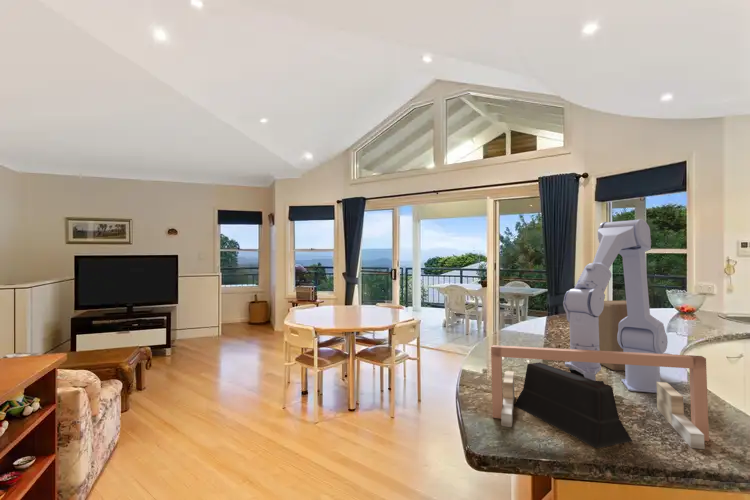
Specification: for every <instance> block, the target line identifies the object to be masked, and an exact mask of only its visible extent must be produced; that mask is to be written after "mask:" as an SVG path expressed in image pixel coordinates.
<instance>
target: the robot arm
mask: <svg viewBox="0 0 750 500" xmlns="http://www.w3.org/2000/svg"><path fill="white" fill-rule="evenodd" d="M651 237H652V236H651V227H650V226H649V224H648V223H647V221H645V219H643V218H638V219H629V220H618V221H602V222H601V223H600V225H599V227H598V229H597V240H598V242H599V244H598V247H597V248H596V249H597V250H596V253H595V255H594V259H593V261H592V262H590V263H588V264H586V265H585V266H584V268H583V270H582V272H581V274H580V276H579V278H578V280H577V281H576V284H575V285H574V288H570V289H569V290H567V291H566V292H565V294H564V295H563V296H564V297H563V302H562V305H563V310H564V311H565V313H566V321H567V322H568V323H569V349H577V350H596V351H600V349H599V315H600V314H601V313H602V311H603V308H604V301H605V298H606V294H605V291H606V289H607V287H608V285H609V282H610V280H611V278H612V272H611V269H610V268H611V266H612V264H613V263H614V262H615V260H616V259H617V257H618V256H619V255H620V257H622V267H623V268H622V269H623V279H624V288H625V301H626V303H627V315H628V316H627V317H625V318H624V319H622V320H621V321H620V322H619V324H618V335H617V340H618V344H619V345H620V347H621V348H622V349H623V352H635V353H654V354H665V353H666V350H667V349H668V335H667V332H666V331H665V325H664V323H663V322H662V321H660V320H659V319H657V318H656V317H654V316H653V315H651V313H650V312H651V311H650V298H649V288H648V287H649V286H648V276H647V275H648V274H647V264H646V262H647V261H646V252H648V251H651V250H652V247H651V246H652V239H651ZM564 366H565V367H566V368H568V369H569V372H570V373H573V374H576V375H579V376H582V377H585V378H588V379H591V380H594V381H597V382H600V383H603V384H605V382H604V381H603V380H596V375H597V374H598V373H599V372H600V371H601V370H602V365H601V364H600V363H593V362H577V361H565V362H564ZM660 368H661V367H659V366H642V365H626V364H625V372H624V373H625V378H621V382H622V383H623V384H624V386H625V387H626V389H627V390H628V391H629V392H638V393H639V392H641V393H653V394H654V393H655V394H657V383H656V382H661V372H660V371H661V369H660Z"/></svg>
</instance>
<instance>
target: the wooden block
mask: <svg viewBox="0 0 750 500" xmlns="http://www.w3.org/2000/svg"><path fill="white" fill-rule="evenodd" d="M627 316H628V315H627V303H626V299H625V300H604V308H603V311H602V313H601V314H600V315H599V349H600V351H615V352H623V349H622V348H621V347H620V345H619V344H618V340H617V335H618V324H619V322H620V321H621V320H622V319H624V318H625V317H627ZM600 365H601V366H604V367H606V368H608V369H610V370H612V371H615V372H616V371H617V372H618V371H620V372H621V371H625V364H610V363H600Z"/></svg>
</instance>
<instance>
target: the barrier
mask: <svg viewBox="0 0 750 500" xmlns="http://www.w3.org/2000/svg"><path fill="white" fill-rule="evenodd" d="M597 381H598V380H596V381H594V380H591V379H588V378H585V377H582V376H579V375H576V374H573V373H571V372H570V371H566V370H564V369H560V368H557V367H554V366H552V365H549V364H546V363H542V362H533V363H532V362H531V363H528V364H527V363H526V372H525V377H524V383H523V388H522V389H521V392H520V394H519V395H518V396H517V399H516V401H514V407H516V408H518V409H520V410H521V411H524V412H525V413H527V414H529V415H532V416H533V417H535V418H537V419H538V420H541V421H543V422H545V423H547V424H549V425H550V426H553V427H554V428H556V429H558V430H560V431H562V432H564V433H565V434H567V435H570V436H571V437H573V438H575V439H577V440H579V441H581V442H583V443H584V444H587V445H589V446H591V447H593V448H595V449H600V448H606V447H610V446H614V445H615V446H616V445H620V444H626V443H631V442H633V439H632V438H631V436H630V435H629V433H628V431H627V429H626V428H625V427H624V424H623V423H622V421H621V420H620V418H619V417H620V415H619V413H618V408H617V407H618V406H617V403H616V399H615V395H614V390H613V389H614V388H613V387H612V386H611V385H609V384H605V383H604V384H603V383H600V382H597Z"/></svg>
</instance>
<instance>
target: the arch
mask: <svg viewBox="0 0 750 500" xmlns="http://www.w3.org/2000/svg"><path fill="white" fill-rule="evenodd" d="M490 352H491V353H490V355H491V356H490V357H491V360H490V361H491V363H490V364H491V392H492V393H491V394H492V395H491V396H492V397H491V398H492V399H491V400H492V404H491V406H492V418H493V419H500V420H501V412H502V405H503V399H504V392H503V364H502V363H503V361H502V358H516V359H528V360H529V359H531V360H546V361H547V360H548V361H563V362H564V361H565V362H571V361H577V362H593V363H610V364H626V365H642V366H659V367H660V368H661V367H663V368H678V369H679V368H680V369H688V370H689V391H690V392H689V393H690V395H689V396H690V417H691V419H690V421H691V422H692V423H693V424H694V425H695V426H696V427H697V428H698V429H699V430H700V431H701V432H702V433H703V434H704V442H710V433H709V432H710V430H709V429H710V427H709V406H708V405H709V404H708V402H709V401H708V399H709V398H708V375H707V371H708V370H707V358H706V357H704V356H703V355H690V354H689V355H688V354H687V355H686V354H674V353H673V354H672V353H671V354H670V353H663V354H654V353H635V352H615V351H596V350H577V349H570V348H555V347H537V346H536V347H535V346H518V345H517V346H516V345H515V346H514V345H497V344H495V345H494V344H492V345H490Z"/></svg>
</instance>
